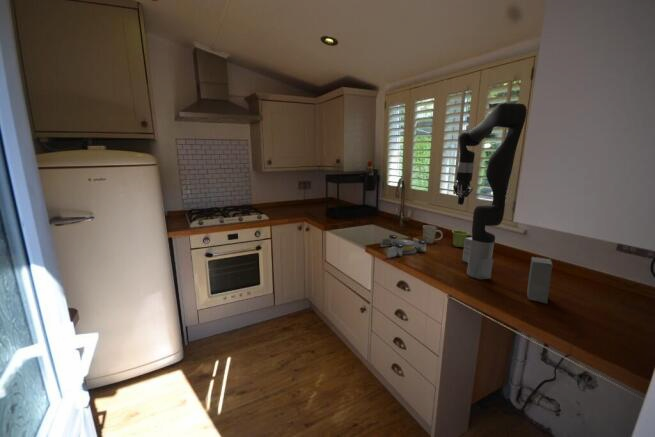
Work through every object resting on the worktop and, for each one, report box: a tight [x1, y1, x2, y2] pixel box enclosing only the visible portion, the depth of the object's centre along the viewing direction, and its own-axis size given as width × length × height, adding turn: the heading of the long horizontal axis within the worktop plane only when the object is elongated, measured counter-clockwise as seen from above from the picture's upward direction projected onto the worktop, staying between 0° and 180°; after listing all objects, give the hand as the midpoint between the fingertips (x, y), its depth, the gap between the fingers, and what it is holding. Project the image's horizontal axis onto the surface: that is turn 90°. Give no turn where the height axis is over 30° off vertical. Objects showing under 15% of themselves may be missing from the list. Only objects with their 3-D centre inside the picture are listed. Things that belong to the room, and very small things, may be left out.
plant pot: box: [451, 230, 470, 248], centre depth 182 cm, size 9×9×9 cm
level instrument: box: [391, 238, 418, 256], centre depth 169 cm, size 14×14×6 cm
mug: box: [422, 224, 444, 244], centre depth 187 cm, size 8×13×10 cm, turn 82°
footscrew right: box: [412, 237, 428, 253], centre depth 172 cm, size 11×5×6 cm, turn 16°
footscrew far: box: [380, 234, 398, 248], centre depth 176 cm, size 11×5×6 cm, turn 118°
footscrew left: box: [387, 243, 404, 259], centre depth 159 cm, size 11×5×6 cm, turn 130°
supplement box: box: [461, 236, 472, 264], centre depth 154 cm, size 7×7×13 cm
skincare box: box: [526, 256, 554, 304], centre depth 116 cm, size 8×7×16 cm
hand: (460, 204), depth 157 cm, fingers closed
